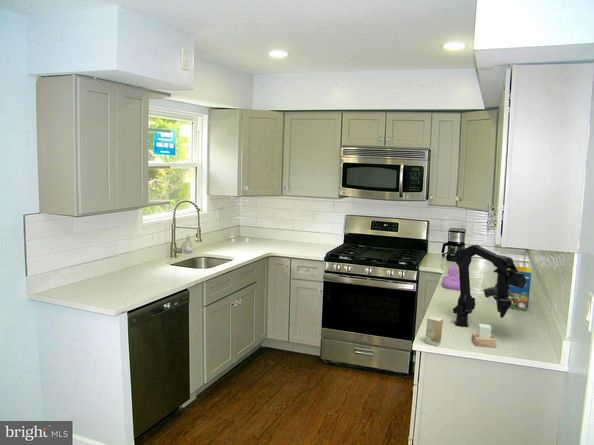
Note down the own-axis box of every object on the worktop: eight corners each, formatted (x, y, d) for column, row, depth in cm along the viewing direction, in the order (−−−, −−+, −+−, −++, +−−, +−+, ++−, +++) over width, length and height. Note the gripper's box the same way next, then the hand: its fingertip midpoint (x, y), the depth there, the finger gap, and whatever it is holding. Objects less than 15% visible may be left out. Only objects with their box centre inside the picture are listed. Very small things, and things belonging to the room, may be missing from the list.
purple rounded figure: (466, 291, 335) (467, 271, 333) (442, 289, 339) (443, 269, 337) (463, 282, 359) (464, 264, 358) (440, 280, 363) (442, 262, 361)
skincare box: (424, 343, 236) (426, 317, 234) (427, 340, 239) (429, 315, 238) (438, 346, 232) (440, 320, 231) (441, 343, 236) (443, 318, 234)
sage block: (478, 333, 241) (478, 323, 240) (489, 335, 239) (490, 324, 239) (479, 337, 236) (479, 327, 235) (490, 338, 235) (491, 328, 234)
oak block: (471, 340, 243) (471, 332, 242) (490, 341, 242) (491, 333, 241) (475, 347, 234) (475, 338, 234) (495, 348, 233) (496, 340, 232)
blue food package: (526, 311, 294) (530, 269, 290) (504, 307, 300) (508, 266, 296) (527, 308, 299) (531, 267, 296) (506, 305, 305) (509, 264, 302)
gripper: (483, 277, 253) (480, 307, 255) (487, 286, 235) (484, 318, 237) (506, 279, 250) (504, 310, 252) (513, 288, 232) (510, 321, 234)
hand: (500, 314), depth 244 cm, fingers open, 9 cm apart
